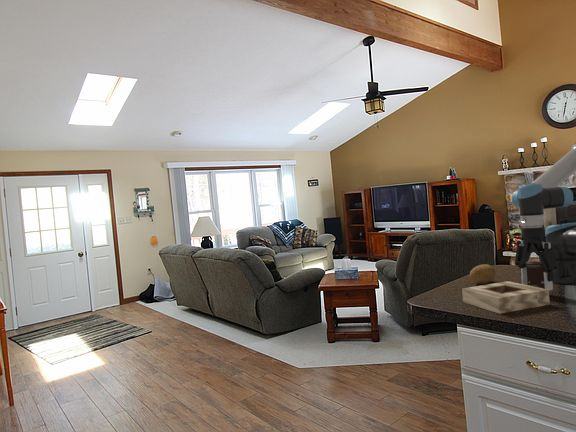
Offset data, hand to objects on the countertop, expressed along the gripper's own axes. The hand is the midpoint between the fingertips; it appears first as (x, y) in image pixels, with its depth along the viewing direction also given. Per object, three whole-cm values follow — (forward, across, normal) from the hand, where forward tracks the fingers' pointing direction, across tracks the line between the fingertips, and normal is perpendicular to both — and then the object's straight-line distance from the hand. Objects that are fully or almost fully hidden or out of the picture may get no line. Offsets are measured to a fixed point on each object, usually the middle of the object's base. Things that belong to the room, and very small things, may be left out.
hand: (536, 287), depth 155 cm
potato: (+3, -27, -1) cm, 27 cm away
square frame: (+3, +3, -17) cm, 17 cm away
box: (+3, 0, 0) cm, 3 cm away
